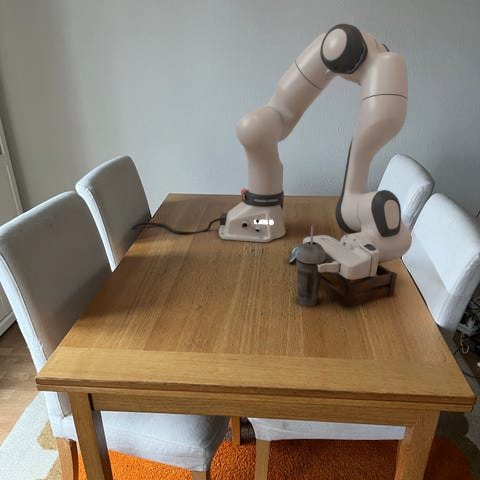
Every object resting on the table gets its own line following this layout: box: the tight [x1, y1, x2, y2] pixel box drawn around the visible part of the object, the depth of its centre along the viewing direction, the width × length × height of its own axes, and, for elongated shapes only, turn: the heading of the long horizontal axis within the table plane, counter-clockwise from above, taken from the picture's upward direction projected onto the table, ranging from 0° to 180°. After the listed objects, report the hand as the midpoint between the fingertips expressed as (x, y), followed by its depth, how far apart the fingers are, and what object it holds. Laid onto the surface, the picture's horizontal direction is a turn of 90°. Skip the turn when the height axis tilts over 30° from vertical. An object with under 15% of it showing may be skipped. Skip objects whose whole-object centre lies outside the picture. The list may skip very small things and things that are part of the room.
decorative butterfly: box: [288, 244, 303, 264], centre depth 140 cm, size 10×6×10 cm
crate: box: [319, 264, 398, 309], centre depth 123 cm, size 15×15×6 cm
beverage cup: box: [295, 225, 326, 307], centre depth 114 cm, size 7×7×20 cm
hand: (307, 261), depth 113 cm, fingers closed on beverage cup, 7 cm apart
